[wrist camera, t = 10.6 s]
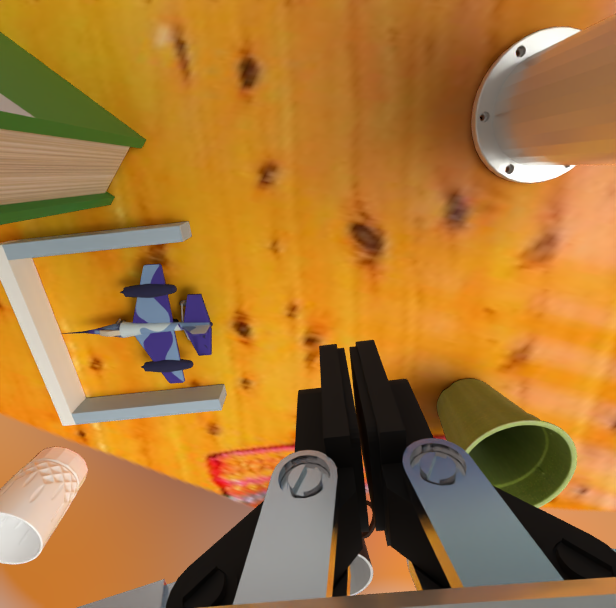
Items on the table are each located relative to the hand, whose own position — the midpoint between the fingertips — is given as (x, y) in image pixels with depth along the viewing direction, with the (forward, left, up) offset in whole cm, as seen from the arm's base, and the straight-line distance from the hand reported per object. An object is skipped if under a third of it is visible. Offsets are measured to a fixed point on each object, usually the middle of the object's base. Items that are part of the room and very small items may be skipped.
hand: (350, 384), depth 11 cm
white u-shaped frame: (+21, +8, -28) cm, 36 cm away
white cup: (+36, +27, -28) cm, 53 cm away
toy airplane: (+18, +8, -28) cm, 34 cm away
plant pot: (-17, +23, -28) cm, 40 cm away
